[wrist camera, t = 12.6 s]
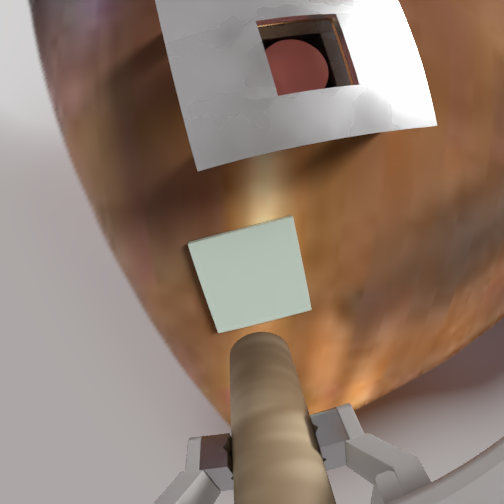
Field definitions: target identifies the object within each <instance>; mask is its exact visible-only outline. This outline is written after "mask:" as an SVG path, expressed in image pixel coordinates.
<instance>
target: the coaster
mask: <svg viewBox="0 0 504 504" xmlns="http://www.w3.org/2000/svg"><path fill="white" fill-rule="evenodd" d="M188 247H189V250H190V253H191V256H192V259H193V262H194V265H195V268H196V271H197V274H198V277H199V280H200V283H201V286H202V289H203V292H204V295H205V298H206V301H207V303H208V306H209V309H210V312H211V315H212V317H213V320H214V323H215V326H216V328H217V331H218V333H221V332H226V331H230V330H235V329H239V328H243V327H247V326H251V325H255V324H259V323H263V322H267V321H271V320H275V319H279V318H283V317H287V316H290V315H294V314H298V313H302V312H305V311H309V310H312V309H311V304H310V299H309V293H308V288H307V283H306V278H305V273H304V268H303V263H302V258H301V253H300V248H299V243H298V239H297V234H296V229H295V225H294V220H293V216H292V215H290V216H286V217H282V218H278V219H274V220H270V221H266V222H262V223H259V224H255V225H251V226H247V227H243V228H239V229H235V230H232V231H228V232H224V233H220V234H217V235H213V236H209V237H205V238H202V239H198V240H194V241H191V242H189V243H188Z"/></svg>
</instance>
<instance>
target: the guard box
mask: <svg viewBox="0 0 504 504" xmlns="http://www.w3.org/2000/svg"><path fill="white" fill-rule="evenodd" d="M155 2H156V6H157V11H158V16H159V20H160V25H161V29H162V33H163V38H164V42H165V46H166V51H167V55H168V59H169V63H170V67H171V71H172V76H173V80H174V84H175V88H176V92H177V96H178V100H179V104H180V108H181V111H182V115H183V119H184V123H185V127H186V131H187V135H188V138H189V142H190V146H191V150H192V153H193V157H194V161H195V164H196V168H197V172H198V171H201V170H205V169H208V168H212V167H216V166H219V165H223V164H227V163H230V162H234V161H238V160H242V159H246V158H250V157H254V156H258V155H263V154H267V153H271V152H275V151H280V150H284V149H289V148H294V147H299V146H303V145H308V144H313V143H319V142H324V141H329V140H335V139H340V138H346V137H352V136H358V135H365V134H372V133H378V132H386V131H393V130H401V129H410V128H419V127H429V126H437V122H436V118H435V113H434V108H433V104H432V100H431V96H430V92H429V88H428V84H427V81H426V77H425V73H424V70H423V67H422V63H421V60H420V57H419V54H418V51H417V48H416V45H415V42H414V39H413V37H412V34H411V31H410V29H409V26H408V23H407V21H406V18H405V16H404V14H403V11H402V9H401V7H400V4H399V2H398V0H155ZM327 18H332V20H333V22H334V25H335V28H336V30H337V33H338V36H339V39H340V42H341V45H342V48H343V51H344V54H345V57H346V60H347V63H348V67H349V70H350V73H351V77H352V80H353V83H354V85H351V84H350V80H349V77H348V73H347V70H346V67H345V63H344V60H343V57H342V54H341V51H340V48H339V45H338V42H337V39H336V36H335V33H334V31H333V28H332V25H331V22H330V20H324V21H308V22H297V23H287V24H279V25H272V26H265V27H257V26H259V25H265V24H272V23H280V22H288V21H298V20H310V19H327ZM288 39H293V40H300V41H303V42H306V43H308V44H310V45H312V46H313V47H315V48H316V49H317V50H318V51H319V52H320V53H321V54H322V56H323V57H324V59H325V61H326V63H327V66H328V72H329V73H328V81H327V83H326V86H325V87H324V89H317V90H310V91H303V92H297V93H291V94H286V95H280V96H278V94H277V91H276V87H275V83H274V80H273V76H272V73H271V70H270V66H269V63H268V59H267V56H266V53H265V51H266V49H267V48H268V47H270V46H271V45H272V44H274V43H276V42H279V41H282V40H288Z"/></svg>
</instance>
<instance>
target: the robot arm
mask: <svg viewBox="0 0 504 504" xmlns="http://www.w3.org/2000/svg"><path fill="white" fill-rule="evenodd" d="M310 420H311V424H312V427H313V430H314V434H315V435H316V439H317V444H318V447H319V450H320V454H321V457H322V458H323V462H324V465H325V468H326V471H327V470H330V469H334V468H337V467H341V466H344V465H347V467H349V468H350V469H352V470H353V471H354V472H356V473H357V474H359V475H360V476H362V477H363V478H365V479H366V480H368V481H369V482H371V483H372V484H374V487H373V492H372V497H371V504H504V437H503V438H501V439H500V440H499V441H497V442H496V443H495V444H493V445H492V446H490V447H489V448H487V449H486V450H485V451H483V452H482V453H480V454H479V455H477V456H476V457H474V458H473V459H471V460H470V461H468V462H466V463H465V464H463V465H462V466H460V467H458V468H457V469H455V470H453V471H451V472H450V473H448V474H446V475H445V476H443V477H441V478H439V479H437V480H435V481H433V482H431V481H430V479H429V477H428V475H427V474H426V472H425V470H424V468H423V466H422V464H421V463H420V461H419V459H418V457H417V456H414V455H412V454H410V453H408V452H406V451H404V450H402V449H400V448H397V447H395V446H393V445H391V444H389V443H387V442H385V441H383V440H381V439H379V438H377V437H375V436H373V435H371V434H369V433H366V434H364V432H363V430H362V428H361V426H360V423H359V421H358V419H357V417H356V415H355V412H354V410H353V408H352V406H351V404H349V403H347V404H344V405H341V406H338V407H334V408H331V409H328V410H325V411H322V412H318V413H315V414H312V415H310ZM186 456H187V457H186V466H185V471H183V472H181V473H180V474H179V475H178V476H177V477H176V478H175V480H174V481H173V482H172V483H171V484H170V485H169V487H168V488H167V489H166V490H165V491H164V492H163V493H162V494H161V495H160V496H159V498H158V499H157V500H156V501H155V502H154V503H153V504H214V502H215V501H216V499H217V497H218V496H219V494H220V491H225V490H232V489H234V485H233V461H232V437H231V436H230V434H229V433H228V434H219V435H210V436H201V437H192V438H190V439H189V440H188V446H187V455H186Z"/></svg>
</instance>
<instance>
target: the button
mask: <svg viewBox="0 0 504 504" xmlns="http://www.w3.org/2000/svg"><path fill="white" fill-rule="evenodd" d="M265 53H266V56H267V59H268V63H269V66H270V70H271V73H272V76H273V80H274V83H275V87H276V91H277V94H278V96H280V95H286V94H291V93H297V92H303V91H310V90H317V89H324V87H325V86H326V83H327V81H328V73H329V72H328V66H327V63H326V61H325V59H324V57H323V56H322V54H321V53H320V52H319V51H318V50H317V49H316V48H315V47H313V46H312V45H310V44H308V43H306V42H303V41H300V40H293V39H288V40H282V41H279V42H276V43H274V44H272V45H271V46H270V47H268V48H267V49H266V51H265Z"/></svg>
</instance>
